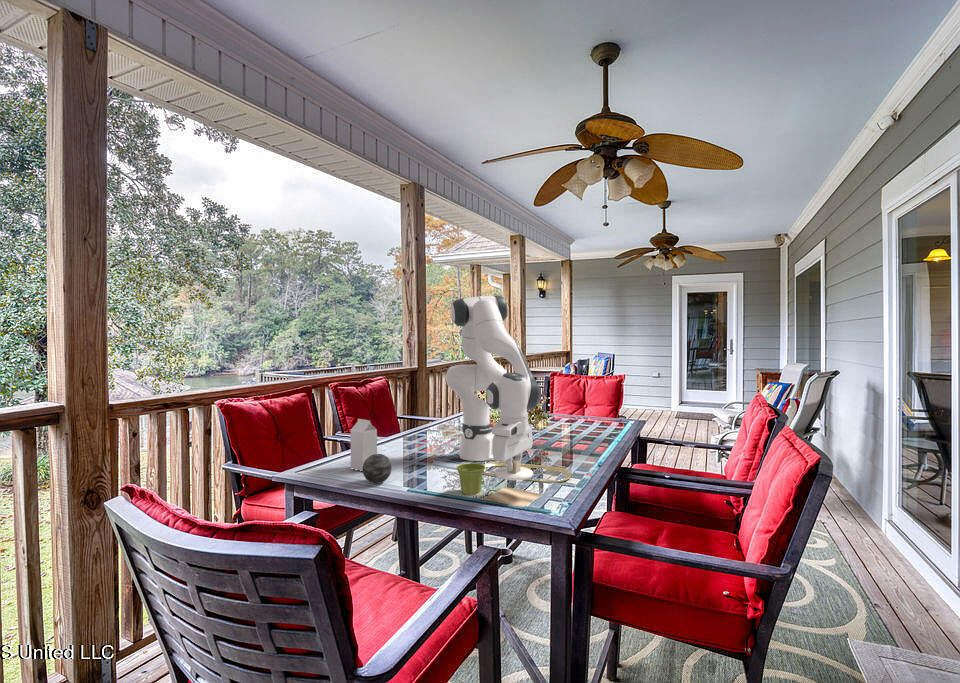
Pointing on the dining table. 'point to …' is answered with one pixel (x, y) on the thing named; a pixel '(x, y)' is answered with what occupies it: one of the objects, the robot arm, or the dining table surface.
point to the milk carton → (362, 443)
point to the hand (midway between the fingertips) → (513, 468)
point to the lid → (514, 472)
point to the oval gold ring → (532, 467)
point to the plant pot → (471, 477)
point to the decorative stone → (377, 468)
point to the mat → (513, 497)
